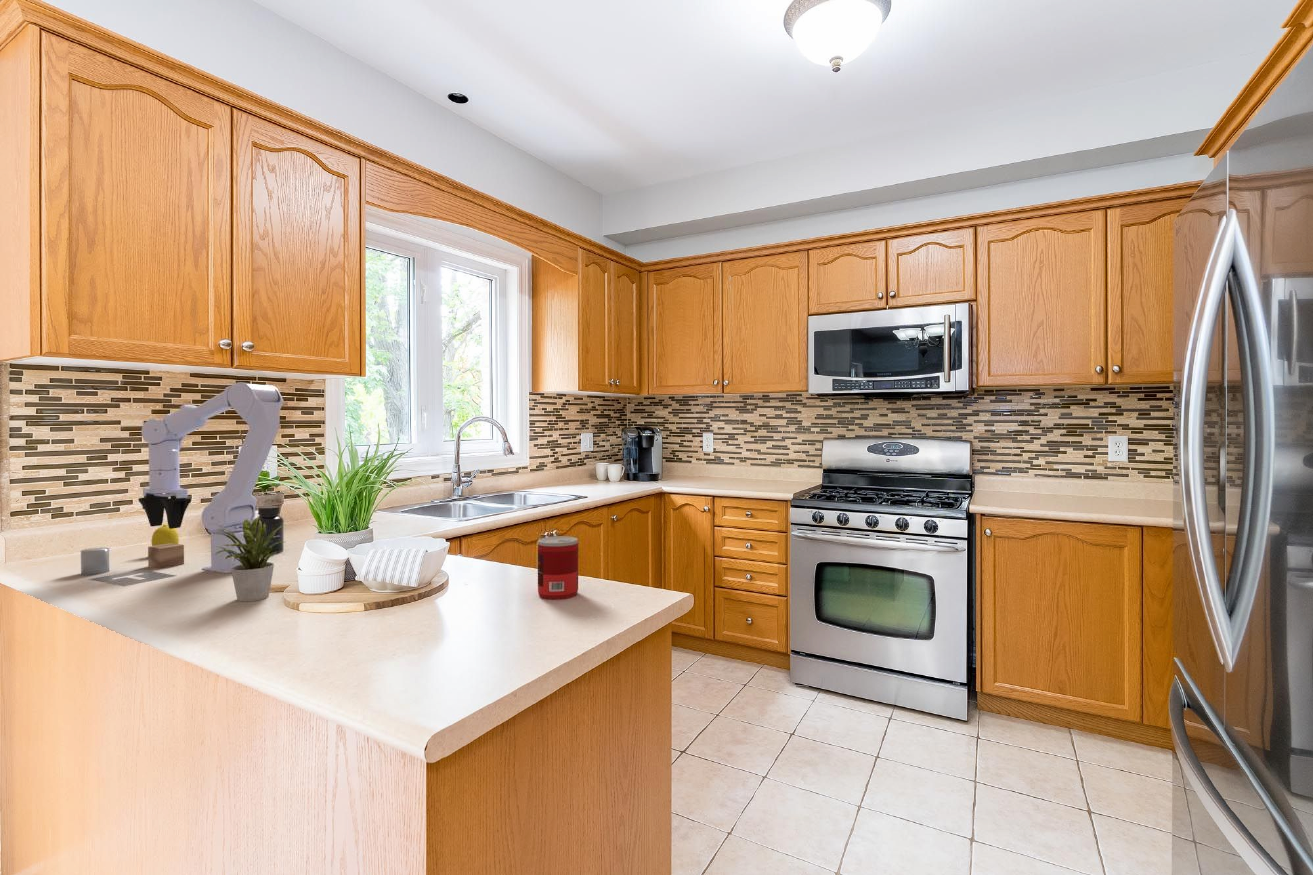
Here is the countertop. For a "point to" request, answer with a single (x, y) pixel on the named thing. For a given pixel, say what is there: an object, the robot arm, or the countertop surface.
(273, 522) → the supplement bottle
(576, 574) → the canned food
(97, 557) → the grey jar
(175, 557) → the walnut cube
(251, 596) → the house plant
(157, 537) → the lemon
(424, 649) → the countertop surface
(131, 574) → the letter card
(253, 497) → the robot arm
